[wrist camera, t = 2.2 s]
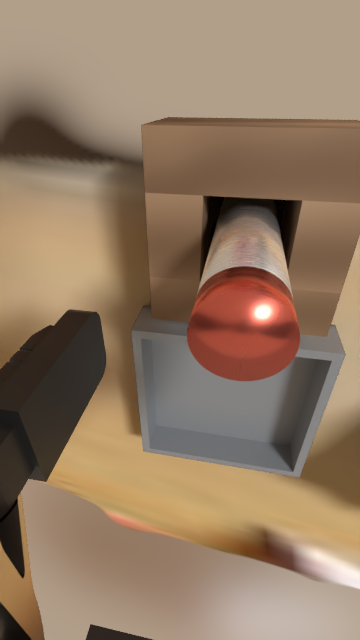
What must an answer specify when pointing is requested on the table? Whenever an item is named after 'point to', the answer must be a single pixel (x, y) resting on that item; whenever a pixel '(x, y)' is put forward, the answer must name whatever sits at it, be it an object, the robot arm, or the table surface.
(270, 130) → the socket block
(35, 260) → the table surface
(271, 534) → the table surface
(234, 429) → the tray
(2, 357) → the table surface
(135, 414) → the table surface
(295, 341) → the pin
